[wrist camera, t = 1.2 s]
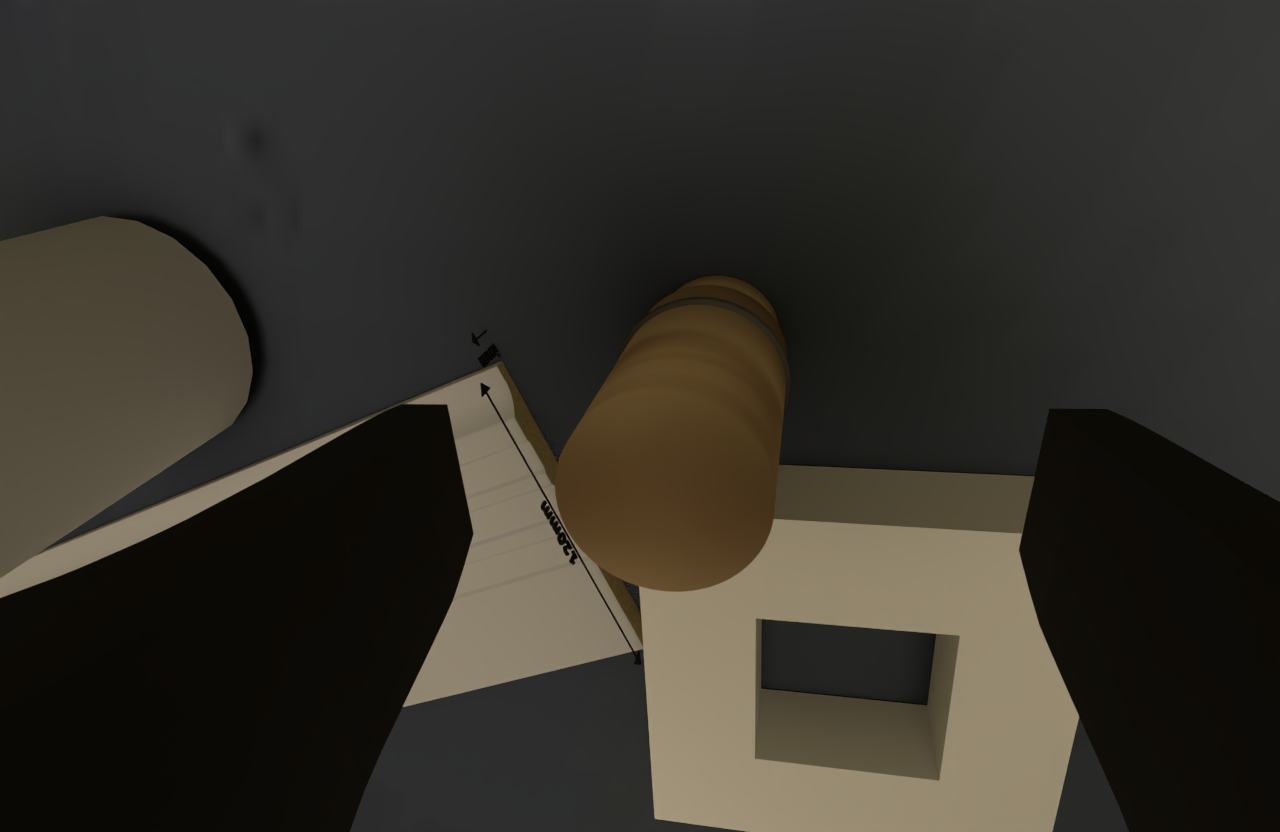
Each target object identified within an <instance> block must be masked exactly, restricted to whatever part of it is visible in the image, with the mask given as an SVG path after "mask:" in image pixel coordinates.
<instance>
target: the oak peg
mask: <svg viewBox="0 0 1280 832" xmlns="http://www.w3.org/2000/svg"><path fill="white" fill-rule="evenodd" d="M790 387H791V377H790V368H789V363H788V350H787V345H786V341H785V338H784V335H783V333H782V331H781V329H780V327H779V324H778V319H777V316H776V313H775V311H774V309H773V307H772V306H771V304H770V303H769V301H768V300H767V299H766V297H765V296H764V295H763V294H762V293H761V292H760V291H758V290H757V289H756V288H755V287H753V286H752V285H750V284H749V283H746V282H744V281H742V280H740V279H737V278H734V277H729V276H719V275H715V276H706V277H701V278H698V279H695V280H692V281H690V282H688V283H686V284H685V285H683V286H682V287H680V288H679V289H678V290H677V291H676V292H674V293H672V294H670V295H668V296H666V297H665V298H663V299H662V300H660V301H659V302H658V303H657V304H656V305H655V306H654V307H652V309H651V310H650V311H649V312H648V313H647V315H646V316H645V317H644V318H642V319H641V320H640V321H639V322H638V323H637V325H636V326H635V327H634V328H633V329H632V331H631V332H630V334H629V335H628V337H627V339H626V340H625V342H624V344H623V346H622V348H621V350H620V353H619V356H618V360H617V363H616V364H615V366H614V367H613V369H612V371H611V372H610V374H609V376H608V377H607V379H606V380H605V382H604V384H603V385H602V387H601V388H600V390H599V392H598V393H597V395H596V396H595V398H594V400H593V401H592V403H591V404H590V406H589V408H588V409H587V411H586V413H585V414H584V416H583V417H582V419H581V421H580V422H579V424H578V425H577V427H576V429H575V430H574V432H573V433H572V435H571V437H570V438H569V440H568V442H567V443H566V445H565V446H564V448H563V451H562V453H561V455H560V458H559V461H558V465H557V469H556V476H555V495H556V501H557V506H558V509H559V513H560V516H561V519H562V521H563V523H564V525H565V527H566V529H567V531H568V532H569V534H570V536H571V537H572V539H573V540H574V542H575V543H576V544H577V545H578V546H579V548H580V549H581V550H582V551H583V552H584V553H585V554H586V555H587V556H588V557H589V558H590V559H591V560H592V561H593V562H595V563H596V564H597V565H599V566H600V567H601V568H602V569H604V570H606V571H607V572H609V573H610V574H612V575H614V576H616V577H618V578H620V579H622V580H624V581H626V582H629V583H631V584H634V585H637V586H640V587H644V588H648V589H652V590H659V591H668V592H684V591H694V590H699V589H704V588H708V587H711V586H714V585H717V584H720V583H722V582H724V581H726V580H728V579H730V578H732V577H734V576H735V575H737V574H738V573H740V572H741V571H742V570H744V569H745V568H746V567H747V566H748V565H749V564H750V563H751V562H752V561H753V560H754V559H755V558H756V557H757V555H758V554H759V553H760V551H761V550H762V548H763V547H764V545H765V543H766V541H767V539H768V536H769V534H770V532H771V528H772V524H773V520H774V510H775V500H776V489H777V479H778V468H779V457H780V447H781V436H782V425H783V417H784V415H785V412H786V410H787V406H788V402H789V397H790Z"/></svg>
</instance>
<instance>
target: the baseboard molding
mask: <svg viewBox="0 0 1280 832" xmlns="http://www.w3.org/2000/svg"><path fill="white" fill-rule="evenodd" d="M486 331H487V330H485V331H484V332H483V333H482V334H481V335H479V336H478V337H477V338H476V337H475V335H474V334H473V333H472V342H473V343H474V344H476V345H478V346H480V344H479V343H478V341H477V340H478V339H479V338H480V337H481V336H482V335H483V334H484V333H485V332H486ZM487 350H488V351H487ZM487 350H486V351H485V352H484V353H483V354H482V355H481V356H480V357H479V358H478V360H479V362H480V363H481V365H482V367H486V365H488V363H489V362H490V360H493V358H495V356H496V355H497V354H496V352H498V350H497V348H496V347H495V345H494V344H493V347H492V346H490V348H488V349H487ZM492 352H493V353H492ZM489 353H490V354H489ZM483 355H484V356H483ZM490 355H491V356H490ZM487 356H488V357H487ZM484 357H485V358H484ZM498 357H500V354H498ZM481 358H482V359H481ZM485 359H486V360H485ZM482 360H483V361H482ZM483 362H484V363H483ZM401 404H447V406H448V411H449V416H450V420H451V425H452V430H453V435H454V440H455V445H456V450H457V455H458V460H459V464H460V469H461V474H462V479H463V484H464V489H465V494H466V499H467V503H468V508H469V513H470V518H471V523H472V528H473V533H474V534H473V537H472V541H471V544H470V548H469V551H468V555H467V558H466V561H465V565H464V568H463V572H462V575H461V578H460V581H459V584H458V587H457V590H456V593H455V596H454V599H453V601H452V604H451V606H450V608H449V610H448V612H447V615H446V617H445V619H444V621H443V623H442V625H441V628H440V630H439V632H438V634H437V636H436V638H435V640H434V642H433V645H432V647H431V649H430V651H429V653H428V655H427V657H426V659H425V661H424V663H423V666H422V668H421V670H420V672H419V674H418V676H417V678H416V680H415V682H414V684H413V686H412V688H411V690H410V693H409V695H408V697H407V699H406V701H405V703H404V705H403V707H405V706H409V705H413V704H418V703H422V702H426V701H430V700H434V699H438V698H442V697H446V696H451V695H455V694H459V693H463V692H467V691H471V690H475V689H479V688H484V687H488V686H492V685H496V684H500V683H504V682H508V681H513V680H517V679H521V678H525V677H529V676H533V675H537V674H541V673H546V672H550V671H554V670H558V669H562V668H566V667H570V666H574V665H579V664H583V663H587V662H591V661H595V660H599V659H603V658H607V657H612V656H616V655H620V654H624V653H628V652H633V654H634V655H635V657H636V659H635V663H634V664H638V665H641V659H640V652H639V651H638V652H637V655H636V653H635V651H636V650H640V649H643V635H642V620H641V614H640V612H639V610H638V608H637V606H636V604H635V603H634V601H633V599H632V597H631V595H630V594H629V592H628V590H627V588H626V586H625V584H624V583H623V581H622V579H620V578H618V577H616V576H614V575H612V574H610V573H609V572H607V571H606V570H604V569H602V568H601V567H600V566H599V565H597V564H596V563H595V562H593V561H592V560H591V559H590V558H589V557H588V556H587V555H586V554H585V553H584V552H583V551H582V550H581V549H580V548H579V546H578V545H577V544H576V543H575V542H574V540H573V539H572V537H571V536H570V534H569V532H568V531H567V529H566V527H565V525H564V523H563V521H562V519H561V516H560V513H559V509H558V506H557V501H556V495H555V476H556V469H557V465H558V462H557V461H556V459H555V457H554V455H553V453H552V452H551V450H550V448H549V446H548V444H547V442H546V441H545V439H544V437H543V435H542V433H541V432H540V430H539V428H538V426H537V424H536V422H535V421H534V419H533V417H532V415H531V413H530V411H529V410H528V408H527V406H526V404H525V402H524V401H523V399H522V397H521V395H520V393H519V391H518V390H517V388H516V386H515V384H514V382H513V381H512V379H511V377H510V375H509V373H508V371H507V370H506V368H505V366H504V364H503V362H502V361H500V362H498V363H496V364H493V365H491V366H488V367H486V368H484V369H481V370H479V371H476V372H474V373H471V374H469V375H467V376H464V377H462V378H459V379H457V380H454V381H452V382H450V383H447V384H445V385H442V386H440V387H438V388H435V389H433V390H430V391H428V392H425V393H423V394H421V395H418V396H416V397H413V398H411V399H408V400H406V401H404V402H401V403H399V404H396V405H394V406H392V407H389V408H387V409H384V410H382V411H379V412H377V413H375V414H372V415H370V416H367V417H365V418H362V419H360V420H358V421H355V422H353V423H350V424H348V425H345V426H343V427H341V428H338V429H336V430H333V431H331V432H329V433H326V434H324V435H321V436H319V437H316V438H314V439H312V440H309V441H307V442H304V443H302V444H299V445H297V446H295V447H292V448H290V449H287V450H285V451H283V452H280V453H278V454H275V455H273V456H270V457H268V458H266V459H263V460H261V461H258V462H256V463H253V464H251V465H249V466H246V467H244V468H241V469H239V470H237V471H234V472H232V473H229V474H227V475H224V476H222V477H220V478H217V479H215V480H212V481H210V482H207V483H205V484H203V485H200V486H198V487H195V488H193V489H191V490H188V491H186V492H183V493H181V494H178V495H176V496H174V497H171V498H169V499H166V500H164V501H161V502H159V503H157V504H154V505H152V506H149V507H147V508H145V509H142V510H140V511H137V512H135V513H132V514H130V515H128V516H125V517H123V518H120V519H118V520H115V521H113V522H111V523H108V524H106V525H103V526H101V527H99V528H96V529H94V530H91V531H89V532H86V533H84V534H82V535H79V536H77V537H74V538H72V539H69V540H67V541H65V542H62V543H60V544H57V545H55V546H52V547H50V548H48V549H45V550H43V551H41V552H39V553H38V554H36V555H35V556H33V557H32V558H30V559H29V560H27V561H26V562H24V563H23V564H21V565H20V566H18V567H17V568H15V569H14V570H12V571H11V572H9V573H8V574H6V575H5V576H3V577H2V578H0V598H2V597H4V596H7V595H10V594H12V593H15V592H18V591H20V590H23V589H26V588H29V587H31V586H34V585H37V584H39V583H42V582H45V581H47V580H50V579H53V578H56V577H58V576H61V575H63V574H66V573H68V572H71V571H73V570H76V569H78V568H80V567H83V566H85V565H88V564H90V563H92V562H94V561H97V560H99V559H101V558H104V557H106V556H108V555H111V554H113V553H115V552H117V551H120V550H122V549H124V548H127V547H129V546H131V545H134V544H136V543H138V542H140V541H142V540H144V539H147V538H149V537H151V536H153V535H155V534H157V533H159V532H162V531H164V530H166V529H168V528H170V527H172V526H174V525H176V524H178V523H180V522H182V521H184V520H186V519H188V518H190V517H192V516H194V515H196V514H198V513H200V512H201V511H203V510H205V509H207V508H209V507H211V506H213V505H215V504H217V503H219V502H220V501H222V500H224V499H226V498H228V497H230V496H232V495H234V494H236V493H237V492H239V491H241V490H243V489H245V488H247V487H249V486H251V485H253V484H255V483H256V482H258V481H260V480H262V479H264V478H266V477H268V476H269V475H271V474H273V473H275V472H276V471H278V470H280V469H282V468H284V467H285V466H287V465H289V464H291V463H292V462H294V461H296V460H298V459H299V458H301V457H303V456H305V455H306V454H308V453H310V452H312V451H313V450H315V449H317V448H319V447H320V446H322V445H324V444H326V443H327V442H329V441H331V440H333V439H334V438H336V437H338V436H340V435H341V434H343V433H345V432H347V431H349V430H350V429H352V428H354V427H356V426H358V425H359V424H361V423H363V422H365V421H367V420H369V419H371V418H373V417H374V416H376V415H378V414H380V413H382V412H385V411H387V410H389V409H391V408H394V407H396V406H398V405H401Z"/></svg>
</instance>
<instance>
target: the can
mask: <svg viewBox="0 0 1280 832" xmlns="http://www.w3.org/2000/svg"><path fill="white" fill-rule="evenodd" d="M252 374H253V369H252V361H251V354H250V347H249V340H248V335H247V333H246V331H245V328H244V326H243V324H242V321H241V319H240V317H239V315H238V312H237V310H236V308H235V305H234V303H233V301H232V299H231V298H230V296H229V295H228V294H227V292H226V291H225V290H224V288H223V287H222V286H221V284H220V283H219V282H218V280H217V279H216V278H215V276H214V275H213V274H212V272H211V271H210V270H209V268H208V267H207V266H206V265H205V264H204V263H203V262H201V261H200V260H199V259H198V258H197V257H195V256H194V255H193V254H192V253H191V252H189V251H188V250H187V249H186V248H185V247H184V246H182V245H181V244H180V243H179V242H178V241H176V240H175V239H174V238H172V237H170V236H168V235H166V234H164V233H161V232H159V231H157V230H155V229H153V228H151V227H149V226H147V225H145V224H143V223H140V222H138V221H134V220H127V219H120V218H113V217H106V216H100V217H96V218H92V219H88V220H84V221H80V222H76V223H72V224H68V225H64V226H60V227H56V228H52V229H48V230H44V231H40V232H36V233H32V234H28V235H24V236H20V237H16V238H12V239H8V240H4V241H0V578H2V577H3V576H5V575H6V574H8V573H9V572H11V571H12V570H14V569H15V568H17V567H18V566H20V565H21V564H23V563H24V562H26V561H27V560H29V559H30V558H32V557H33V556H35V555H36V554H38V553H39V552H41V551H42V550H44V549H45V548H47V547H48V546H50V545H51V544H53V543H54V542H56V541H57V540H59V539H60V538H62V537H63V536H65V535H66V534H68V533H69V532H71V531H73V530H74V529H76V528H77V527H79V526H80V525H82V524H83V523H85V522H86V521H88V520H89V519H91V518H92V517H94V516H95V515H97V514H98V513H100V512H101V511H103V510H104V509H106V508H107V507H109V506H110V505H112V504H113V503H115V502H116V501H118V500H119V499H121V498H122V497H124V496H125V495H127V494H128V493H130V492H131V491H133V490H134V489H136V488H137V487H139V486H140V485H142V484H143V483H145V482H146V481H148V480H149V479H151V478H152V477H154V476H155V475H157V474H158V473H160V472H162V471H163V470H165V469H166V468H168V467H169V466H171V465H172V464H174V463H175V462H177V461H178V460H180V459H181V458H183V457H184V456H186V455H187V454H189V453H190V452H192V451H193V450H195V449H196V448H198V447H199V446H201V445H202V444H204V443H205V442H207V441H208V440H210V439H211V438H213V437H214V436H216V435H217V434H219V433H220V432H222V431H223V430H225V429H226V428H228V427H229V426H231V425H232V424H233V422H234V421H235V419H236V418H237V416H238V415H239V413H240V412H241V410H242V409H243V407H244V406H245V404H246V403H247V400H248V395H249V390H250V384H251V379H252Z"/></svg>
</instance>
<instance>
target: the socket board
mask: <svg viewBox="0 0 1280 832" xmlns="http://www.w3.org/2000/svg"><path fill="white" fill-rule="evenodd" d="M1034 478H1035V476H1014V475H992V474H970V473H949V472H927V471H905V470H883V469H861V468H839V467H818V466H796V465H779V468H778V479H777V489H776V500H775V510H774V520H773V524H772V528H771V532H770V534H769V536H768V539H767V541H766V543H765V545H764V547H763V548H762V550H761V551H760V553H759V554H758V555H757V557H756V558H755V559H754V560H753V561H752V562H751V563H750V564H749V565H748V566H747V567H746V568H745V569H744V570H742V571H741V572H740V573H738V574H737V575H735V576H734V577H732V578H730V579H728V580H726V581H724V582H722V583H720V584H717V585H714V586H711V587H708V588H704V589H699V590H694V591H684V592H668V591H659V590H652V589H648V588H644V587H640V586H639V591H640V605H641V620H642V635H643V650H644V665H645V680H646V695H647V710H648V725H649V740H650V755H651V769H652V784H653V799H654V814H655V819H660V820H668V821H675V822H682V823H689V824H697V825H704V826H711V827H718V828H726V829H733V830H740V831H747V832H1052V831H1053V827H1054V822H1055V818H1056V814H1057V809H1058V805H1059V801H1060V796H1061V792H1062V788H1063V784H1064V779H1065V775H1066V771H1067V766H1068V762H1069V758H1070V753H1071V749H1072V745H1073V741H1074V736H1075V732H1076V728H1077V723H1078V719H1079V715H1078V712H1077V710H1076V708H1075V706H1074V704H1073V701H1072V699H1071V697H1070V695H1069V692H1068V690H1067V688H1066V686H1065V683H1064V681H1063V679H1062V676H1061V674H1060V672H1059V670H1058V667H1057V665H1056V663H1055V660H1054V658H1053V656H1052V654H1051V651H1050V649H1049V647H1048V644H1047V642H1046V640H1045V637H1044V635H1043V632H1042V630H1041V628H1040V625H1039V622H1038V619H1037V615H1036V612H1035V609H1034V605H1033V602H1032V598H1031V595H1030V592H1029V588H1028V584H1027V580H1026V576H1025V573H1024V569H1023V565H1022V561H1021V557H1020V553H1019V546H1020V542H1021V537H1022V532H1023V528H1024V523H1025V519H1026V514H1027V510H1028V505H1029V500H1030V496H1031V491H1032V487H1033V482H1034ZM762 619H769V620H780V621H792V622H804V623H816V624H828V625H840V626H851V627H863V628H875V629H887V630H899V631H911V632H923V633H934V634H936V640H935V647H934V655H933V663H932V671H931V679H930V687H929V695H928V703H927V705H918V704H908V703H898V702H888V701H878V700H868V699H859V698H849V697H839V696H829V695H819V694H810V693H800V692H790V691H780V690H770V689H761V651H762Z"/></svg>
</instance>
